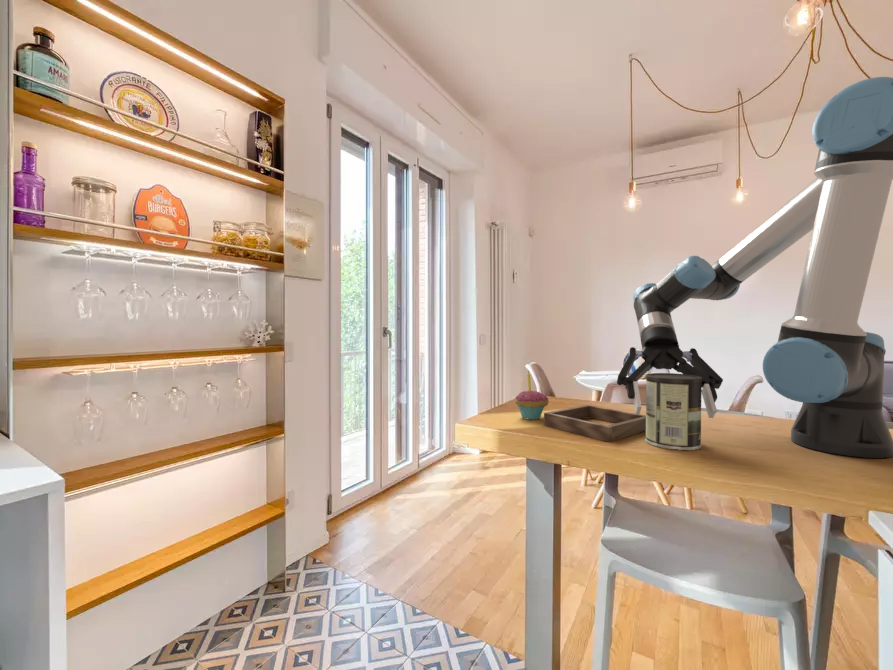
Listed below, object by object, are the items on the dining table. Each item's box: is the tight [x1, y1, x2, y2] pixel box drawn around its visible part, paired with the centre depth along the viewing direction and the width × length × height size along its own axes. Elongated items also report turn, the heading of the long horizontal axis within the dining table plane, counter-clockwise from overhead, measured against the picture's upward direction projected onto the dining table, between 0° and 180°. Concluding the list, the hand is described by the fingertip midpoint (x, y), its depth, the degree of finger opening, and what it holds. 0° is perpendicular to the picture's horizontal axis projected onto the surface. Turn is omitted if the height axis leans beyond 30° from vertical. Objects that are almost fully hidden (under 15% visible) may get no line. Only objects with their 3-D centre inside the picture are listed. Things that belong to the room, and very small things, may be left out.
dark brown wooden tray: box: [543, 404, 646, 443], centre depth 99 cm, size 17×17×3 cm
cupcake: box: [514, 370, 550, 420], centre depth 109 cm, size 9×8×12 cm
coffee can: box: [645, 372, 703, 451], centre depth 86 cm, size 10×10×14 cm
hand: (675, 412), depth 84 cm, fingers open, 13 cm apart
